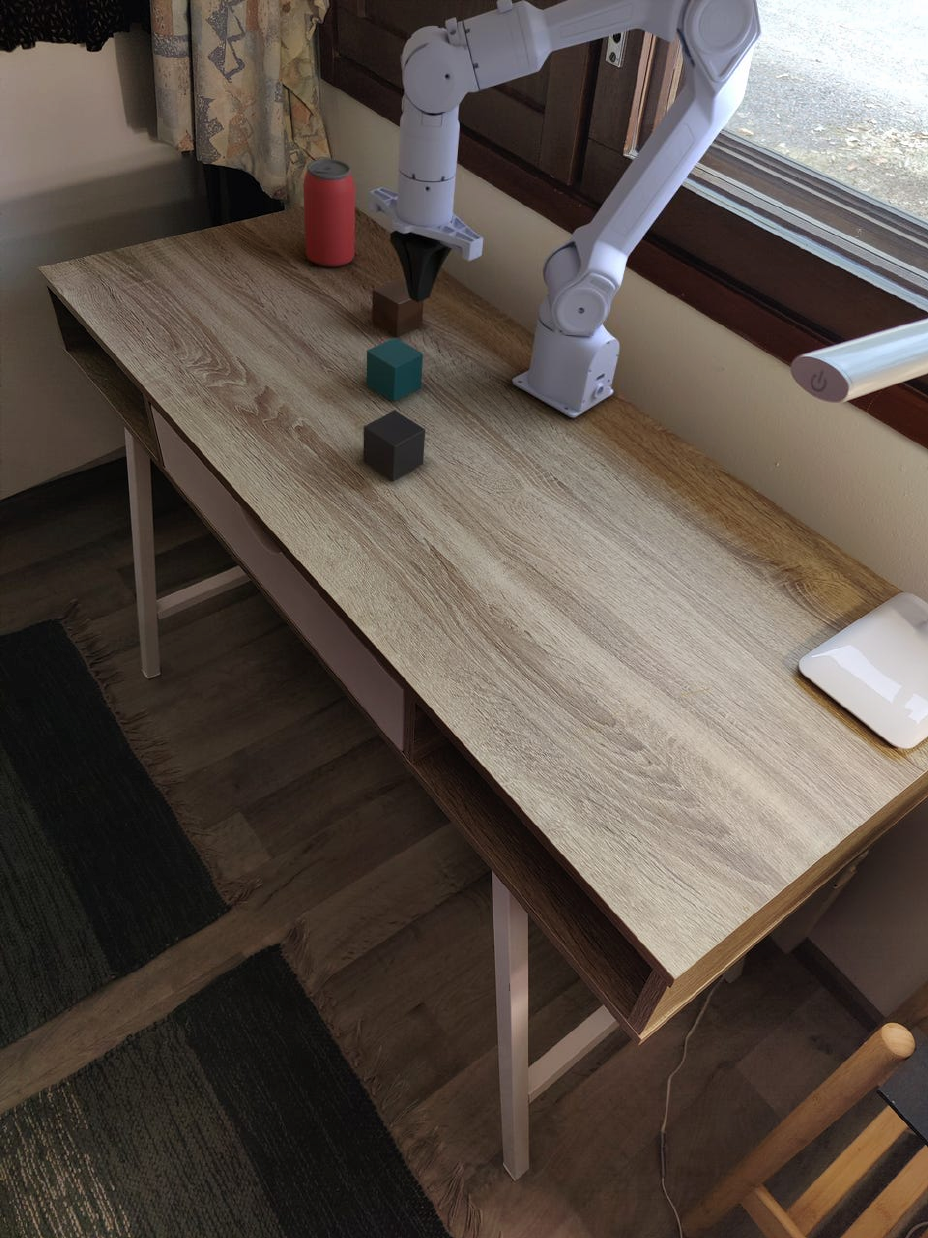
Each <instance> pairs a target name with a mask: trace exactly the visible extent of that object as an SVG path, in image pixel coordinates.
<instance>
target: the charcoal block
mask: <svg viewBox="0 0 928 1238" xmlns="http://www.w3.org/2000/svg"><path fill="white" fill-rule="evenodd" d="M425 442H426V428H424V427H422V426H421V425H420V424H418V423H417V422H415V421H413V420H411V419H410V418H409V417H407V416H405V415H404V414H402V413H400V412H399V411H397V410H396V409H395V410H392V411H390V412H388V413H387V414H384V415H383V416H381V417H379V418H377V419H374V420H373V421H371V422H369V423H367V424H366V425H363V445H362V446H363V447H362V450H363V451H362V453H363V454H362V461H363V463H365V464H366V465H368V466H369V467H370V468H372V469H373V470H374V471H376V472H378V473H379V474H381V475H382V476H383V477H385V478H386V479H388V480H389V481H391V482H393V483H394V482H395V481H397V480H399V479H400V478H402V477H404V476H405V475H407V474H409V473H410V472H412V471H414V470H416V469H417V468H419V467H421V466H423V465H424V456H425V444H426V443H425Z"/></svg>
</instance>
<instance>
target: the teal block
mask: <svg viewBox="0 0 928 1238" xmlns="http://www.w3.org/2000/svg"><path fill="white" fill-rule="evenodd" d="M423 362H424V353H422V352H421V351H419V350H417V349H416V348H415V347H413V346H411V345H409V344H407V343H406V342H405V341H402V340H401V339H399V338H398V337H392V338H391V339H388V340H387V341H384V342H382V343H381V344H378V345H376V346H374V347H371V348H370V349H368V350H366V372H365V373H366V375H365V376H366V377H365V378H366V379H365V385H366V386H367V387H368V388H370V389H372V390H373V391H375V392H377V393H378V394H380V395H381V396H383V397H384V398H386V399H388V400H389V401H391V402H393V403H395V402H397V401H399V400H400V399H403V398H405V397H406V396H408V395H410V394H412V393H414V392H416V391H418V390H419V389H421V388H422V378H423V377H422V376H423V364H424V363H423Z"/></svg>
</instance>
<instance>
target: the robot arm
mask: <svg viewBox="0 0 928 1238" xmlns="http://www.w3.org/2000/svg"><path fill="white" fill-rule="evenodd" d="M496 7H497V8H496V9H493V10H490V11H487V12H485V13H481V14H479V15H476V16H473V17H470V18H466V19H463V20H461V21H457V18H456V17H452V18H449V19H446V20H445V22H444V23H445V28H444V27H438V25H428V26H424V27H422V28H419V29H418V30H416V31H414V32H413V33H412V34H411V36H410V38H408V39H407V40H406V42H405V44H404V47H403V51H402V54H400V65H401V70H402V71H401V72H402V75H401V77H402V85H403V88H404V91H403V92H404V93H403V94H404V95H403V96H402V99H401V110H402V114H401V116H400V122H399V140H398V141H399V144H398V145H399V146H398V170H397V171H398V174H397V175H398V176H397V192H396V191H394V190H391V189H388V188H385V187H383V186H381V187H378V188H375V189H371V190H370V191H368V210H370V211H371V212H373V213H379V212H380V213H381V214H382V213H383V214H385V216H388V217H389V218H390V219H391V229H393V230H394V231H391V232H390V235H389V241H390V243H391V244H392V246H393V248H394V250H395V251H396V255H397V256H398V259H399V262H400V265H401V268H402V272H403V275H404V279H405V282H406V284H407V289H408V294H409V298H411V299H413V300H414V301H416V302H420V301H422V300H424V301H425V300H426V299H427V300H428V299H429V298H431V295H432V291H433V289H434V286H435V282H436V280H437V277H438V275H439V272H440V270H441V268H442V266H443V264H444V263H445V261H446V259H447V257H448V256H449V254H450V253H451V251H452V250H454V251H455V252H458V253H459V254H461V258H462V260H464V261H467V262H471V261H473V260H476V259H478V258H479V257H481V256H483V255H482V254H483V246H484V245H483V244H484V237H483V236H481V235H479V234H477V233H476V232H475V231H473V230H472V229H471V228H470V227H469V226H468V225H467V224H466V223H465V222H463V220H462V219H461V218H460V217H458V216H457V214H456V213H455V212H454V203H455V190H456V179H457V165H458V152H459V141H460V131H461V130H460V128H461V125H460V121H459V111H460V109H459V108H460V105H461V102H463V99H464V98H465V96H466V95H467V93H476V92H479V91H483V90H486V89H489V88H491V87H494V86H498V85H501V84H503V83H508V82H511V81H513V80H516V79H519V78H523V77H525V76H529V75H532V74H534V73H538V72H540V70H541V69H542V67H543V65H544V63H545V62H546V60H547V59H548V58H549V56H550V54H551V53H552V52H554V51H558V50H562V49H565V48H569V47H573V46H576V45H581V44H584V43H587V42H591V41H595V40H598V39H599V40H600V39H603V38H606V37H609V36H610V37H611V36H613V35H614V36H615V35H617V34H620V33H624V32H628V31H632V30H635V29H636V30H637V29H638V30H642V31H644V32H646V33H648V34H651V35H653V36H656V37H658V38H660V39H662V40H664V41H666V42H669V43H672V44H674V43H675V41H676V36H677V37H678V39H679V41H680V45H681V54H682V61H683V68H684V70H683V71H684V75H685V84H684V86H683V88H682V89H681V91H679V93H678V95H677V96H676V97H675V99H674V101H672V103H671V104H670V106H669V108H668V109H667V111H666V112H665V114H664V115H663V117H662V118H661V119H660V121H659V122H658V124H657V125H656V126H655V128H654V130H653V131H652V133H650V135H649V137H648V138H647V139H646V141H645V142H644V144H643V145H642V147H641V149H640V150H639V152H638V153H637V155H635V157H634V159H633V160H632V162H631V163H630V164H629V166H628V167H627V169H626V170H625V172H624V173H623V175H622V176H621V177H620V179H619V180H618V182H617V183H616V185H615V187H614V188H613V189H612V191H611V192H610V194H609V195H608V197H607V198H606V200H605V201H604V202H603V204H602V205H601V207H600V208H599V209H598V211H597V212H596V214H595V216H594V217H593V218H592V220H591V221H590V222H589V223H587V224H585V225H582V226H579V227H578V228H576V229H575V230H574V232H573V233H572V235H570V237H569V238H568V239H567V240H566V241H565V242H564V243H562V244H560V245H558V246H557V247H555V248H554V249H553V250H552V251H551V252H550V253H549V254H548V255H547V257H546V259H545V260H544V264H543V268H542V276H543V281H544V283H545V286H546V288H547V295H546V297H545V299H543V301H542V303H541V304H540V305H539V308H538V314H537V318H536V319H537V320H536V325H535V331H534V338H533V343H532V344H533V345H532V350H531V351H532V352H531V356H530V363H529V368H528V370H526V371H524V372H523V373H521V374H519V375H517V376H516V377H513V378H512V381H511V383H512V384H513V385H514V386H516V387H517V388H519V389H521V390H523V391H525V392H526V393H527V394H530V395H531V396H533V397H535V398H537V399H539V400H540V401H542V402H544V403H545V404H547V405H549V406H551V407H552V408H554V409H555V410H558V411H559V412H561V413H563V414H564V415H566V416H568V417H569V418H577V417H579V416H580V415H581V414H583V413H584V412H585V413H586V411H588V410H589V409H591V408H593V407H594V406H596V405H597V404H599V403H601V402H602V401H605V399H607V398H608V397H610V396H613V393H614V389H613V388H612V384H613V381H614V376H615V371H616V367H617V363H618V360H619V354H620V342H619V340H618V339H617V338H615V337H614V336H613V335H612V334H611V333H610V332H609V331H608V330H607V329H606V328H605V326H604V323H605V322H606V321H607V319H608V316H609V313H610V311H611V310H610V309H611V304H612V301H613V298H614V297H615V295H616V293H617V292H618V291H619V289H620V288H621V286H622V282H623V278H624V275H625V269H626V266H627V262H628V259H629V256H630V255H631V253H632V252H633V251H634V250H635V248H636V246H637V245H638V244H639V243H640V242H641V240H642V238H643V237H644V236H645V235H646V233H647V232H648V231H649V229H650V228H651V226H652V225H653V223H654V222H655V221H656V219H657V218H658V217H659V215H660V214H661V213H662V212H663V211H664V209H665V208H666V206H667V204H668V203H669V202H670V200H671V199H672V197H674V195H675V194H676V192H677V191H678V190H679V188H680V187H681V185H682V184H683V183H684V181H685V180H686V179H687V177H688V176H689V175H690V173H691V172H692V171H693V169H694V168H695V167H696V165H697V164H698V162H699V161H700V160H701V158H702V157H703V156H704V154H705V153H706V152H707V150H708V149H709V148H710V146H711V145H712V144H713V142H714V140H716V138H717V137H718V135H719V134H720V132H722V130H723V128H724V127H725V126H726V124H727V123H728V122H729V120H730V119H731V118H732V116H733V115H734V114H735V112H736V111H737V109H738V108H739V106H740V105H741V103H742V102H743V99H744V97H745V94H746V88H747V85H748V83H747V82H748V79H749V74H750V73H749V72H750V68H751V64H752V59H753V54H754V50H755V49H754V48H755V46H756V44H757V43H758V41H759V39H760V37H761V36H762V27H761V21H760V14H759V9H758V3H757V0H565V1H562V2H560V3H557V4H554V5H553V6H550V7H546V8H545V9H540V8H537V7H536V6H534V5H533V4H531V3H529V2H528V1H526V0H519V1H517V2H515V3H513V1H512V0H496Z"/></svg>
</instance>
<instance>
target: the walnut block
mask: <svg viewBox="0 0 928 1238" xmlns="http://www.w3.org/2000/svg"><path fill="white" fill-rule="evenodd" d="M371 292H372V293H371V294H372V297H371V298H372V299H371V323H372V324H373V325H375V326H377V327H378V328H380V329H382V330H383V331H385V332H387V333H388V334H391V335H392V336H394V338H399V337H401V336H403V335H405V334H407V333H409V332H411V331H414V330H416V329H418V328H420V327H422V326H423V321H424V320H423V318H424V302H425V300H422V301H420V302H416V301H414V300H413V299H411V298H409V294H408V289H407V284H406V281H404V280H403V279H401V278H396V279H393V280H391V281H388V282H386V283H384V284H381V285H380V286H377V287H375V288H373V289H372V291H371Z"/></svg>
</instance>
